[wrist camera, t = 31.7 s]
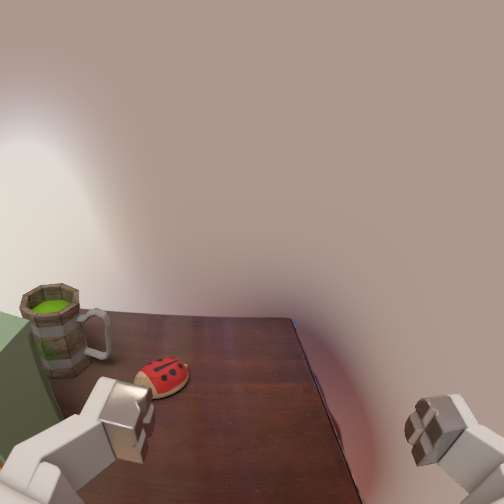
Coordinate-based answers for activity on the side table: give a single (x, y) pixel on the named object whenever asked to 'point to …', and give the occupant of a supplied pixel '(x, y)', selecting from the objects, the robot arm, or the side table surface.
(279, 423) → the side table surface
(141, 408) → the robot arm
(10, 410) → the cubby
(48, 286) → the mug
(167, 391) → the ladybug figurine
